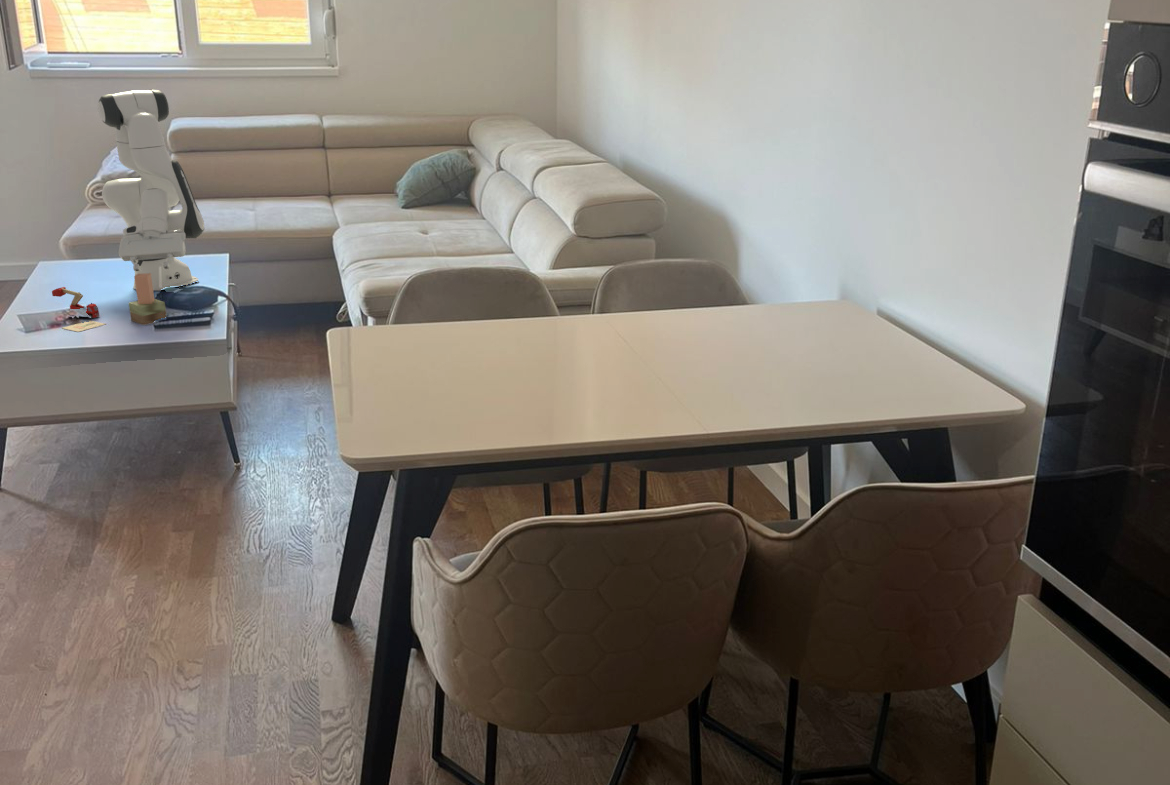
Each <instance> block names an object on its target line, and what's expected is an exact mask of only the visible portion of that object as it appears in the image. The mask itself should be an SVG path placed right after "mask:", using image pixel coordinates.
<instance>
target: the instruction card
mask: <svg viewBox="0 0 1170 785" xmlns="http://www.w3.org/2000/svg"><path fill="white" fill-rule="evenodd" d="M88 321H89V322H86V321H83V322H84V323H82V322H80V323H76V324H71V325H68V326H64V327H62V329H63V330H66V331H72V332H76V333H80V332H83V331H87V330H90V329H95V328H97V327H102V326H106V325H107V323H103V322H99V321H96V320H88Z"/></svg>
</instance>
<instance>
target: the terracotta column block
mask: <svg viewBox="0 0 1170 785" xmlns="http://www.w3.org/2000/svg"><path fill="white" fill-rule="evenodd" d="M133 277H134V280H135V285H136V289H135V291H136V298H137V301H138V304H151V303H153V302H154V301H155V300H154V299H155V295H154V293H155V292H154V291H153V285H152V278H151V273H145V274H137V275H136V276H135V275H134V276H133Z"/></svg>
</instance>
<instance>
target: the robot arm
mask: <svg viewBox="0 0 1170 785" xmlns="http://www.w3.org/2000/svg"><path fill="white" fill-rule="evenodd" d="M97 105H98V107H97V110H98V115H99V117H100V119H101V121H102V122H103V123H104V124H105V125H107V126H108V127H111V128H114V136H115V143H116V147H117V148H116V149H117V154H118V160H119V162H120V163H121V165H122V166H124V167H125V168H126V169H129V170H132V171H134V172H136V173H137V174H138V175H139V177H131V178H130V177H128V178H126V177H125V178H118V179H117V178H116V179H112V180H108V181H106V182H105V183H104V185H103V186H102V190H101V197H102V200H103V203H104V204H105V205H106V206H107V207H108V208H109V209H111V210H112V211H113V212H115V213H117V214H118V215H119V216H120V217H121V218H122V219H123V221H124V222H125V224H126V226H127V227H126V228H125V227H124V229H122V232H123V233H122V234H123V236H122V237H121V239H120V243H119V248H118V255H119V257H120V259H121V260H122V261H124V262H131V263H132V265H133V271H134V276H136V275H137V274H145V273H151V278H152V285H153V292H154V291H161V289H163V288H165V287H170V286H181V285H186V286H189V285H188V284H190V285H192V284H191V283H193V282H196V281H198V280H199V278H197V277H196V276H194V275H192V272H191V269H190V267H189V265H188V264H186V263H185V262H183V261H181V260H180V259H177V258H181V257H184V256H185V255H186V244H185V241H186V239H187V240H188V239H191V240H193V239H195V240H196V239H198V238H199V237H200V236H201V235H202V234H203V232H204V231H205V221H204V218H203V215H202V213H201V211H200V210H199V208H198V205H197V202H196V200H195V198H194V194H193V191H192V190H191V187H190V184H189V182H188V178H187V176H186V174H185V171H184V169H183V168H182V166H181V164H180V163H179V161H177V160H176V159H174V158H172V156H171V155H170V153H169V152H168V149H167V146H166V141H165V138H164V134H163V130H162V128H161V125H160V122H162V121H165V120H166V119H168V117H169V113H170V104H169V101H168V98H167V96H166V95H165V93H164V92H162V90H158V89H150V90H149V89H146V90H145V89H144V90H143V89H142V90H140V89H137V90H129V91H122V92H117V93H108V94H107V93H106V94H104V95H101V96H100V98H99V100H98V104H97ZM179 203H180V205H181V207H182V208H181V209H173V210H170V209H169V208H172V207H176V206H177V205H178V204H179ZM133 289H134V290H136V285H135V279H134V281H133Z"/></svg>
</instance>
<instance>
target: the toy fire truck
mask: <svg viewBox="0 0 1170 785" xmlns="http://www.w3.org/2000/svg"><path fill="white" fill-rule="evenodd" d="M66 294H68V295H71V296H74V297H72V301H71V303H70V304H69V310H70V309H80V308H84V309H86V310H87V311H86V313H87V314H88V315H89V316H90V317H91V318H92V319H95V318H98V317H100V311H99V307H98V305H97V304H96V303H92V302H90V303H89V304H86V308H85V307H84V305H82V304H80V303H79V302H80V301H81V299H82V298H83V297H84V295H83V294H82V293H81V292H80V291H79V292H78V291H74V290H70V289H67V288H66V287H65V286H62V287H58V288H56V289H54V290H51V295H52V297H62V296H65V295H66Z"/></svg>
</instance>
